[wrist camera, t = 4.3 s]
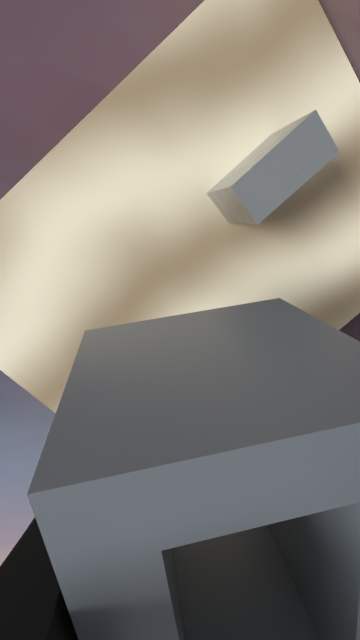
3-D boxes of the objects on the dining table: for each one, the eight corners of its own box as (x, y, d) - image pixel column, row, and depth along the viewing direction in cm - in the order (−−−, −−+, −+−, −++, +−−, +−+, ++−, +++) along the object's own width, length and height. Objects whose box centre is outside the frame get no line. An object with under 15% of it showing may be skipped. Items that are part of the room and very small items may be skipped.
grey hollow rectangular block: (279, 298, 9) (467, 399, 4) (285, 502, 11) (407, 725, 6) (84, 330, 8) (26, 494, 3) (133, 539, 10) (139, 813, 6)
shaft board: (424, 243, 18) (441, 245, 17) (148, 473, 19) (149, 486, 18) (269, -53, 13) (281, -75, 12) (-82, 289, 14) (-96, 294, 14)
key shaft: (290, 166, 14) (339, 152, 11) (228, 222, 15) (258, 224, 11) (270, 134, 14) (315, 109, 11) (206, 193, 14) (230, 186, 11)
